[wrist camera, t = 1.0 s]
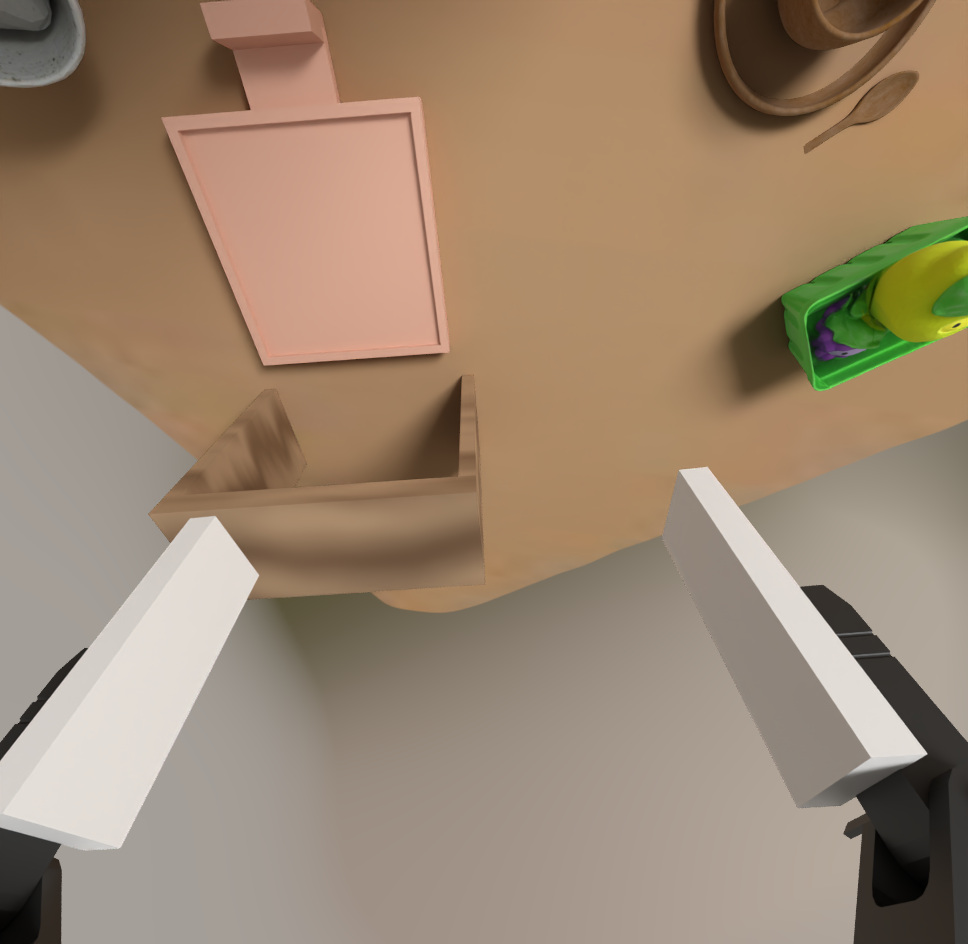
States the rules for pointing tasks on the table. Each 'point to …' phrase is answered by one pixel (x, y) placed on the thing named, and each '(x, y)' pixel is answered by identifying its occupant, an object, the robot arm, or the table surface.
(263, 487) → the shelf
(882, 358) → the fruit basket
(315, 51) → the tray
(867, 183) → the table surface
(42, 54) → the ceramic mug
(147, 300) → the table surface
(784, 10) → the place setting
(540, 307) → the table surface
